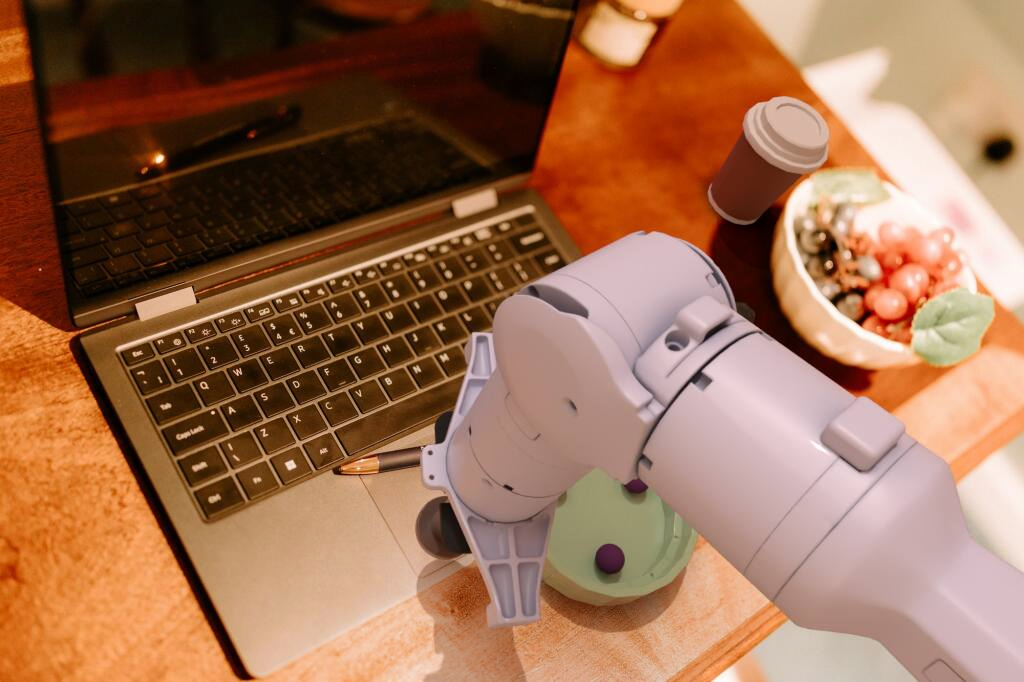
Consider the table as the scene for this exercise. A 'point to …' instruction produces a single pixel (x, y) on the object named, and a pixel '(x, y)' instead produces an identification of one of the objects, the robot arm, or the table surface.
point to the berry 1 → (610, 558)
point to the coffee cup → (769, 158)
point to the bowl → (614, 542)
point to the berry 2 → (636, 486)
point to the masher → (432, 530)
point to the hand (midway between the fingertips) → (461, 510)
